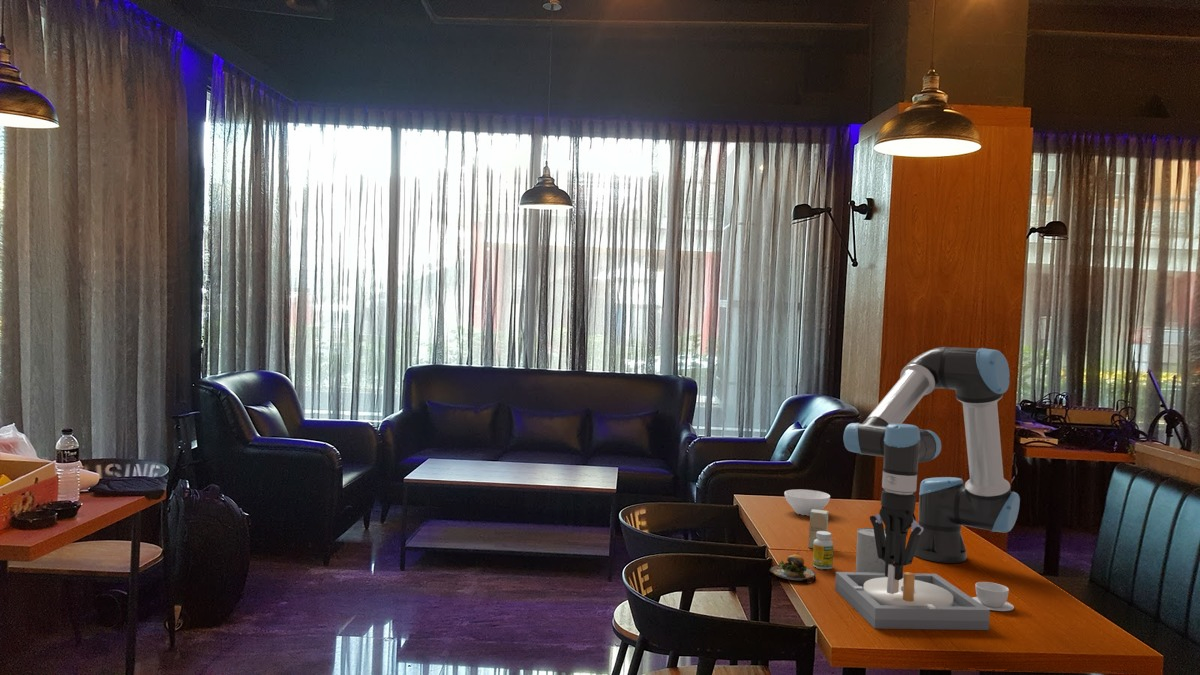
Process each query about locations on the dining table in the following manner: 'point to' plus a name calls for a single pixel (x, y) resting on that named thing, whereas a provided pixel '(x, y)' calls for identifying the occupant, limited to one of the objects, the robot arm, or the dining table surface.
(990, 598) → the teacup
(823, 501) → the bowl
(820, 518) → the box
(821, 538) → the supplement bottle
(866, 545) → the gray speckled cylinder
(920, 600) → the dial
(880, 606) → the grey square tray
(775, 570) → the multicoloured round food plate
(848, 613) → the dining table surface
